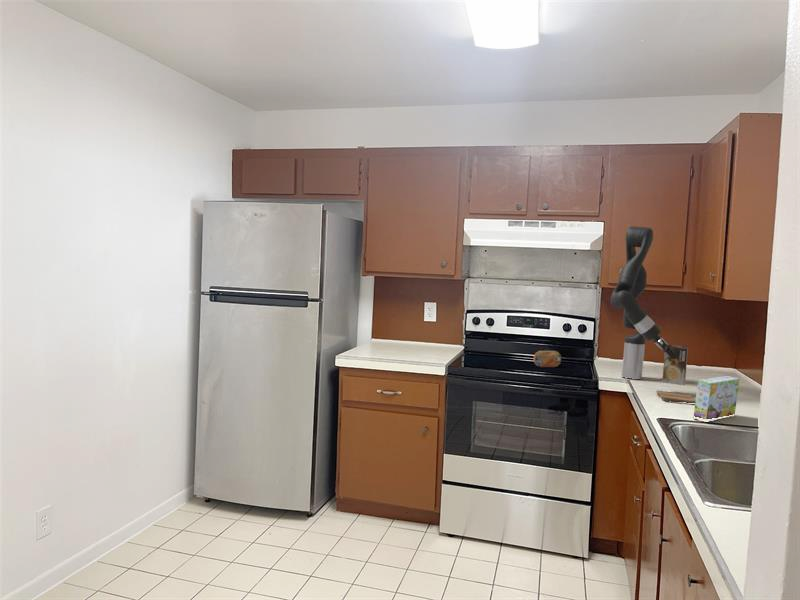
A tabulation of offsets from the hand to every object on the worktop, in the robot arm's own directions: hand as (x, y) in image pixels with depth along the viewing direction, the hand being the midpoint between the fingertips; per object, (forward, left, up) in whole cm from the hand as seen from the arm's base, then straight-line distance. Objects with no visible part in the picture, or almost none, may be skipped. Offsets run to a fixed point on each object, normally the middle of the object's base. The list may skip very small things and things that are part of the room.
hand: (672, 356), depth 261 cm
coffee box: (0, +1, -12) cm, 12 cm away
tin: (-37, -51, -17) cm, 65 cm away
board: (+12, 0, -16) cm, 20 cm away
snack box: (+39, +8, -17) cm, 43 cm away
